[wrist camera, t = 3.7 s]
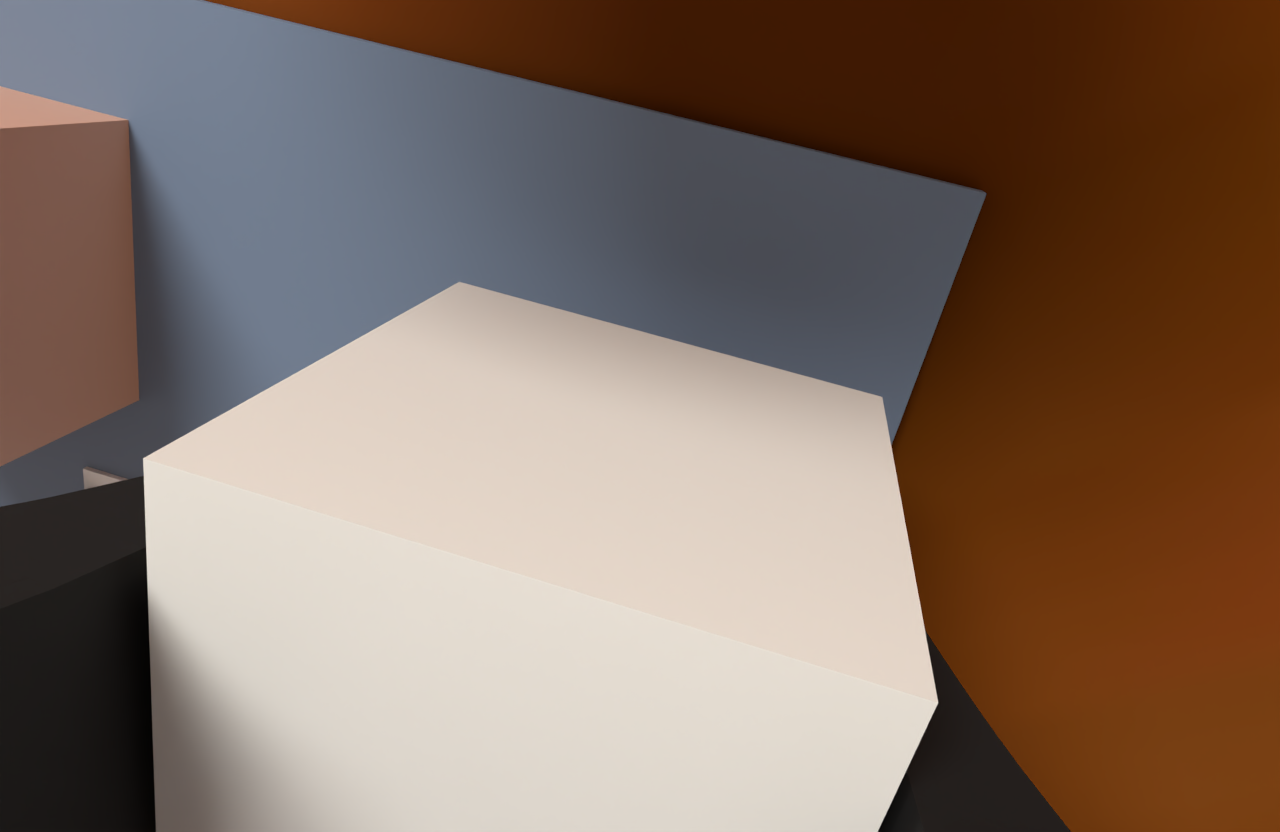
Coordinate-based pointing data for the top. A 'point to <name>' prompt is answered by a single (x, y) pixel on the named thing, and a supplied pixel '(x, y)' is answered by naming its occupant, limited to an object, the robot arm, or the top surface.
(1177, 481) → the top surface
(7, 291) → the terracotta block
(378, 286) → the mat
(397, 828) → the offwhite block
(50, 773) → the robot arm
